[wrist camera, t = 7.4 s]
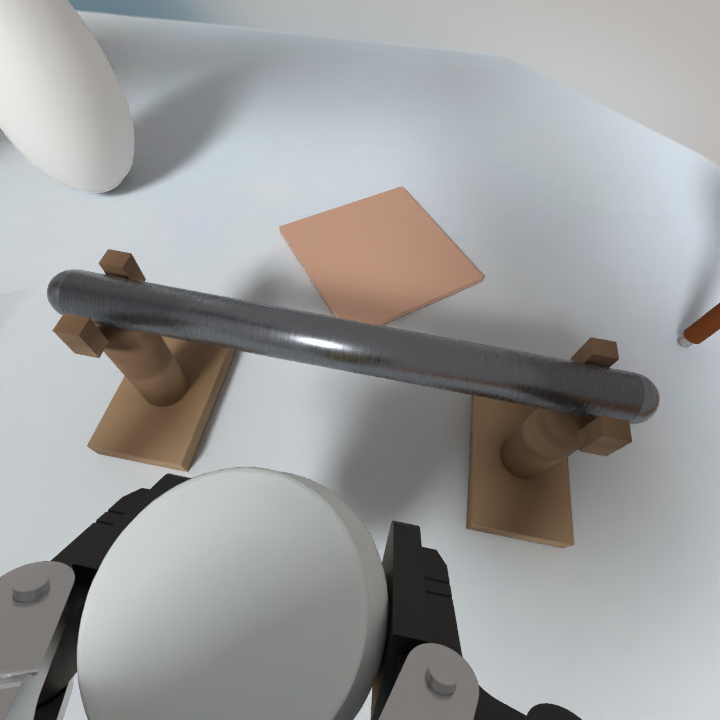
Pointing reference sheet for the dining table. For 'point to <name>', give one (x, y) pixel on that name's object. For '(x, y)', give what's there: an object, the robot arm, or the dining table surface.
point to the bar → (355, 346)
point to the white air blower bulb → (62, 96)
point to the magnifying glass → (702, 328)
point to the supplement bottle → (235, 606)
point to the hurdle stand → (488, 425)
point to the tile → (379, 258)
